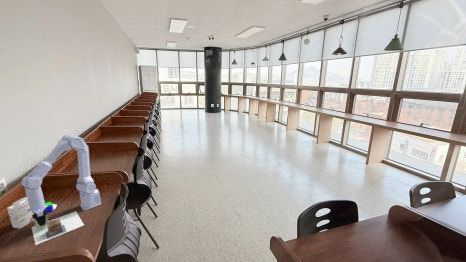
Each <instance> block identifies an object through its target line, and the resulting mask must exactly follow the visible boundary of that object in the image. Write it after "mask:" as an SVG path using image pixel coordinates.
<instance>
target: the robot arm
mask: <svg viewBox="0 0 466 262" xmlns="http://www.w3.org/2000/svg"><path fill="white" fill-rule="evenodd" d="M72 149H73V150H75V151H76V152H77V154H76V155H77V164H78V165H77V166H78V176H79V177H78V178H77V180H76V181H77V182H76V185H75V187H76V188H75V189H76V190H77V191H78V192H79V198H80V203H81V204H80V205H79V206H80V208H81V209H82V211H86V210H89V209H92V208H94V207H96V206H100V205H101V204H102V200H101V195H100V192H99V189H98V188H97V186H96V184H95V180H94V178H92V176H91V166H90V151H89V150H90V148H89V145H87V143H86V142H85V139H84V138H82V137H80V136H76V135H72V134H65V135H63V136H62V137H61V138H60V140H58V142H57V144H56V145H55V146H54V148H53V149H52V150H51V152H50V153H49V155H48V156H47V157H46V158H45V159H44V160H43V161H42V160H41V161H39V162H38V163H36V164H35V167H34V168H33V169H32V170H31V171H30V172H29V173H27V175H26V176H24V177H23V178H22V180H21V182H20V184H21V185H22V186H23V187H24V190H25V195H26V197H27V199H28V203H29V207H30V208H29V209H27V212H30V211H31V212H32V213H34V215H32V217H33V218H34V219H35V220H36V221H37V222H38V224H39V226H43V225H45V224H46V215H47V216H48V213H47V211H45V212H44V209H45V207H46V204H45V201H44V200H45V198H44V194H43V191H42V187H41V185H43V184H42V183H43V180H44V178H45V176H47V174H48V173H49V172H50V171H51V169H52V168H53V163H54V162H55V161H56V160H57V159H58V158H59V157H60V156H61V155H62V154H63V153H64V152H67V151H70V150H72Z"/></svg>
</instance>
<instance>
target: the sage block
mask: <svg viewBox="0 0 466 262" xmlns="http://www.w3.org/2000/svg"><path fill="white" fill-rule="evenodd" d="M49 221H50V220H49V217H48V214H47V215H46V223H48V222H49ZM33 222H34V226H36V229H39V228H42V227H44V226H47V224H45V225H43V226H39V224H38V222H37V221H36V220H35V219H34V221H33Z"/></svg>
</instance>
